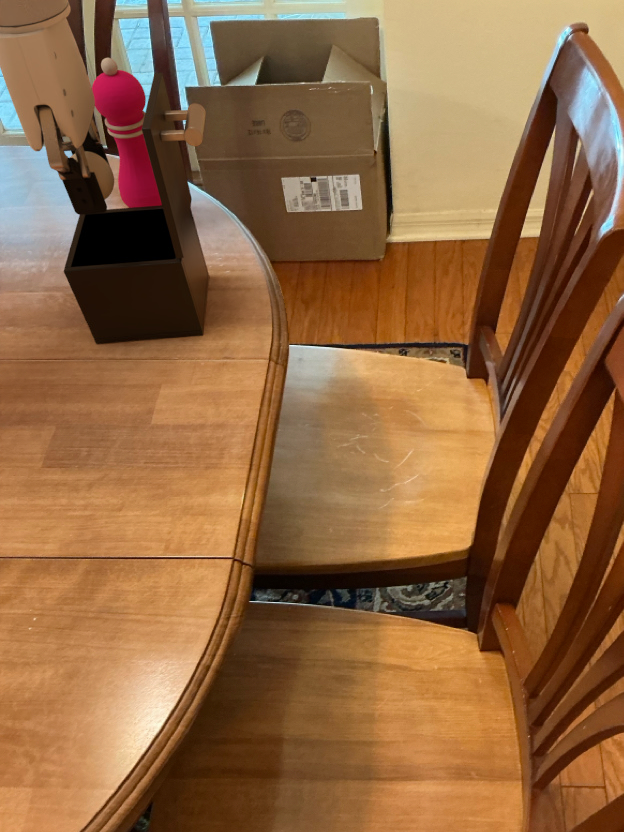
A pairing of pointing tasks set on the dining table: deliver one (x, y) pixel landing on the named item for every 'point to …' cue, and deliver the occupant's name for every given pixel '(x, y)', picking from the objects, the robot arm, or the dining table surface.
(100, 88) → the pepper mill
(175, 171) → the bin lid
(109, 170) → the paper ball
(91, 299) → the waste bin
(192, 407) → the dining table surface
